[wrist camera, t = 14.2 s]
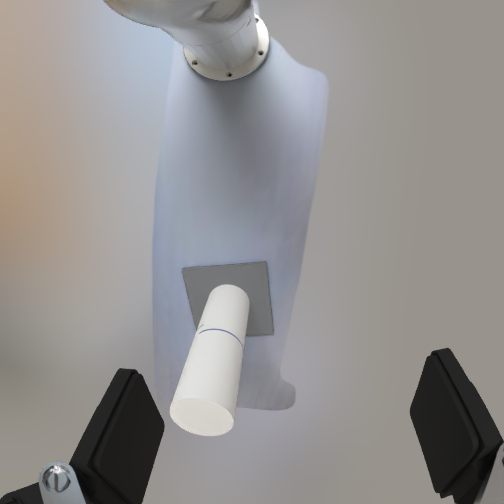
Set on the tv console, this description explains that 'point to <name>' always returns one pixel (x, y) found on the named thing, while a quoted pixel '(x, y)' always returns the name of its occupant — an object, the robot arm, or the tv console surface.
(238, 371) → the cylindrical container
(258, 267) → the rubber mat
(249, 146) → the tv console surface
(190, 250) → the tv console surface
